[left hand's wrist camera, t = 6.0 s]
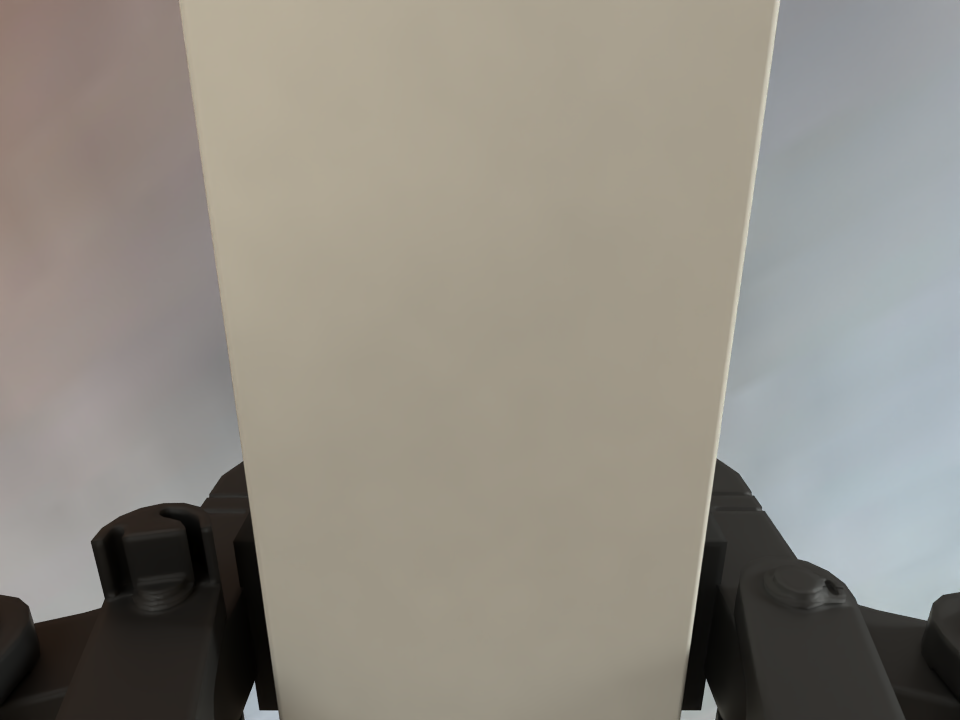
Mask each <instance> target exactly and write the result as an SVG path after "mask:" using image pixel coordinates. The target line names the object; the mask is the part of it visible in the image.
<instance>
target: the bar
mask: <svg viewBox="0 0 960 720" xmlns="http://www.w3.org/2000/svg"><path fill="white" fill-rule="evenodd" d="M779 5H780V0H179V6H180V13H181V20H182V27H183V34H184V41H185V48H186V56H187V63H188V70H189V77H190V84H191V91H192V98H193V105H194V113H195V120H196V127H197V134H198V141H199V148H200V155H201V162H202V169H203V177H204V184H205V191H206V198H207V205H208V212H209V219H210V226H211V234H212V241H213V248H214V255H215V262H216V269H217V276H218V283H219V290H220V298H221V305H222V312H223V319H224V326H225V333H226V340H227V347H228V355H229V362H230V369H231V376H232V383H233V390H234V397H235V404H236V412H237V419H238V426H239V433H240V440H241V447H242V454H243V461H244V468H245V476H246V483H247V490H248V497H249V504H250V511H251V518H252V525H253V533H254V540H255V547H256V554H257V561H258V568H259V575H260V582H261V590H262V597H263V604H264V611H265V618H266V625H267V632H268V639H269V646H270V654H271V661H272V668H273V675H274V682H275V689H276V696H277V703H278V711H279V718H280V720H680V716H681V709H682V702H683V695H684V688H685V680H686V673H687V666H688V659H689V652H690V645H691V637H692V630H693V623H694V616H695V609H696V601H697V594H698V587H699V580H700V573H701V566H702V558H703V551H704V544H705V537H706V530H707V522H708V515H709V508H710V501H711V494H712V487H713V479H714V472H715V465H716V458H717V451H718V443H719V436H720V429H721V422H722V415H723V408H724V400H725V393H726V386H727V379H728V372H729V364H730V357H731V350H732V343H733V336H734V329H735V321H736V314H737V307H738V300H739V293H740V285H741V278H742V271H743V264H744V257H745V250H746V242H747V235H748V228H749V221H750V214H751V206H752V199H753V192H754V185H755V178H756V170H757V163H758V156H759V149H760V142H761V135H762V127H763V120H764V113H765V106H766V99H767V91H768V84H769V77H770V70H771V63H772V56H773V48H774V41H775V34H776V27H777V20H778V12H779Z"/></svg>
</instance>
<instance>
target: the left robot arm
mask: <svg viewBox="0 0 960 720" xmlns="http://www.w3.org/2000/svg"><path fill="white" fill-rule="evenodd" d="M91 544H92V548H93V552H94V557H95V561H96V565H97V569H98V573H99V577H100V581H101V585H102V589H103V593H104V597H105V600H104V603H103V605H102V607H101V608H99V609H96V610H92V611H89V612H85V613H81V614H76V615H72V616H67V617H62V618H58V619H53V620H49V621H44V622H39V623H35V624H34V622H33V619H32V616H31V612H30V609H29V606H28V605H26V604H25V603H24V602H23V601H22V600H21V599H19V598H16V597H10V596H5V595H0V720H245V719H244V713H243V710H244V707H245V704H246V702H247V699H248V697H249V694H250V692H251V689H252V686H253V684H254V681H255V685H256V691H257V697H258V704H259V710H278V703H277V696H276V689H275V682H274V675H273V668H272V661H271V654H270V646H269V639H268V632H267V625H266V618H265V611H264V604H263V597H262V590H261V582H260V575H259V568H258V561H257V554H256V547H255V540H254V533H253V525H252V518H251V511H250V504H249V497H248V490H247V483H246V476H245V468H244V461H243V462H241V463H240V464H239V465H237V466H236V467H234V468H233V469H231V470H230V471H228V472H227V473H225V474H224V475H223V476H221V478H220V479H219V481H218V482H217V484H216V485H215V487H214V488H213V490H212V491H211V493H210V494H209V498H207V499H206V500H205V501H204V503H203V504H202V506H201V507H198V506H194V505H190V504H186V503H162V504H158V505H153V506H148V507H143V508H140V509H137V510H135V511H132V512H130V513H127V514H125V515H122V516H120V517H118V518H117V519H115V520H114V521H112V522H111V523H109V524H107V525H106V526H104V527H103V528H102V529H101V530H100V531H99V532H98V533H97V535H96V536H95V537H94V538H93V539H92V541H91ZM706 679H707V682H708V684H709V687H710V689H711V692H712V694H713V697H714V700H715V702H716V705H717V713H716V719H715V720H960V592H958V593H952V594H946V595H942V596H941V597H940V598H939V599H938V600H936V601H935V602H934V603H933V605H932V608H931V611H930V615H929V618H928V621H925V620H921V619H916V618H911V617H907V616H902V615H897V614H893V613H888V612H883V611H879V610H875V609H872V608H868V607H864V606H861V605H858V604H857V601H856V599H855V597H854V596H853V594H852V593H851V592H850V590H849V589H848V587H847V586H846V585H845V583H843V582H842V581H841V580H839V579H838V578H837V577H835V576H834V575H833V574H831V573H830V572H829V571H827V570H825V569H823V568H820V567H818V566H816V565H814V564H812V563H809V562H807V561H803V560H798V559H797V558H796V556H795V555H794V553H793V552H792V550H791V549H790V547H789V546H788V544H787V543H786V541H785V540H784V539H783V537H782V536H781V534H780V533H779V531H778V530H777V528H776V527H775V525H774V524H773V523H772V521H771V520H770V518H769V517H768V515H767V514H766V512H765V511H762V506H761V505H760V504H759V502H758V501H757V499H756V498H755V496H752V492H751V490H750V489H749V488H748V486H747V485H746V483H745V482H744V480H743V479H742V477H741V476H740V474H739V473H737V472H736V471H734V470H733V469H731V468H730V467H728V466H727V465H725V464H724V463H723V462H721V461H720V460H718V459H717V458H716V465H715V472H714V479H713V487H712V494H711V501H710V508H709V515H708V522H707V530H706V537H705V544H704V551H703V558H702V566H701V573H700V580H699V587H698V594H697V601H696V609H695V616H694V623H693V630H692V637H691V645H690V652H689V659H688V666H687V673H686V680H685V688H684V695H683V702H682V709H681V710H701V707H702V701H703V694H704V688H705V682H706Z"/></svg>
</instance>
